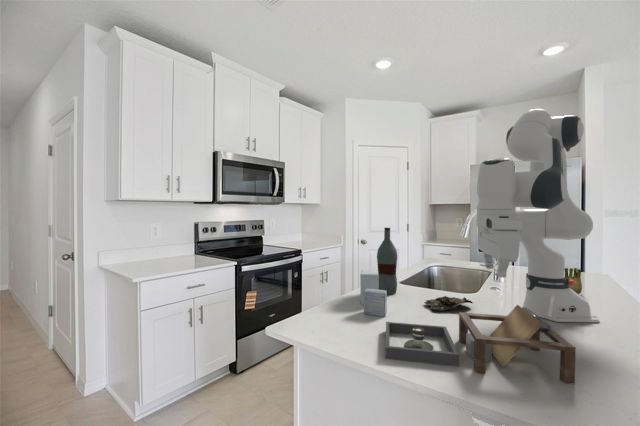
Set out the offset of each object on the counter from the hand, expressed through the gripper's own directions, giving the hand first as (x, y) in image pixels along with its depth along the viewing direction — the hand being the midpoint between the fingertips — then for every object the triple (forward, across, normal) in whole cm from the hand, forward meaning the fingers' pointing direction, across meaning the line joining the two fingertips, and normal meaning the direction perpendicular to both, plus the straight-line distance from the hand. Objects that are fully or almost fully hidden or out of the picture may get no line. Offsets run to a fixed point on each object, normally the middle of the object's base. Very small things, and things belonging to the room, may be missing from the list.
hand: (494, 272), depth 81 cm
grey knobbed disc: (+23, -2, -19) cm, 30 cm away
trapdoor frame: (+23, 0, +3) cm, 23 cm away
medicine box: (+23, -26, -32) cm, 47 cm away
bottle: (+24, -54, -28) cm, 66 cm away
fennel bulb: (+25, -72, +55) cm, 93 cm away
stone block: (+20, 0, -1) cm, 20 cm away
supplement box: (+23, -38, -35) cm, 57 cm away
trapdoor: (+18, 0, +7) cm, 19 cm away
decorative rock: (+24, -40, -5) cm, 47 cm away
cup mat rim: (+23, -2, -19) cm, 30 cm away
